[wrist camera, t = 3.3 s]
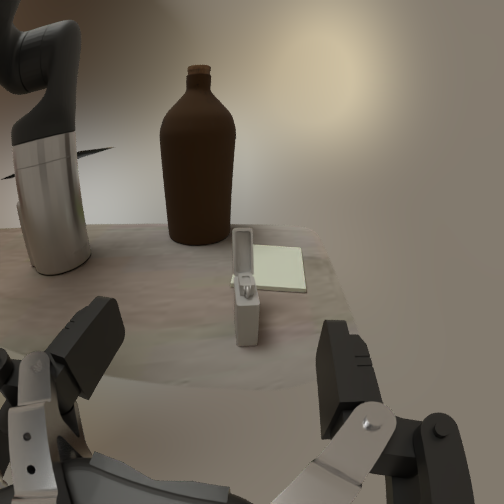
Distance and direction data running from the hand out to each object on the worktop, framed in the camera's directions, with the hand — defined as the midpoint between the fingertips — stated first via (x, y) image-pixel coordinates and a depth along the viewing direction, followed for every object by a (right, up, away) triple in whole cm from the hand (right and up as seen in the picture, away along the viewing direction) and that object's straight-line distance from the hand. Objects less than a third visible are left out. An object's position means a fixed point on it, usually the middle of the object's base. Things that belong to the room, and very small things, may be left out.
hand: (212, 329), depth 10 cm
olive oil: (-6, +6, +33) cm, 34 cm away
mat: (+4, +1, +24) cm, 25 cm away
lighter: (+1, -4, +16) cm, 16 cm away
